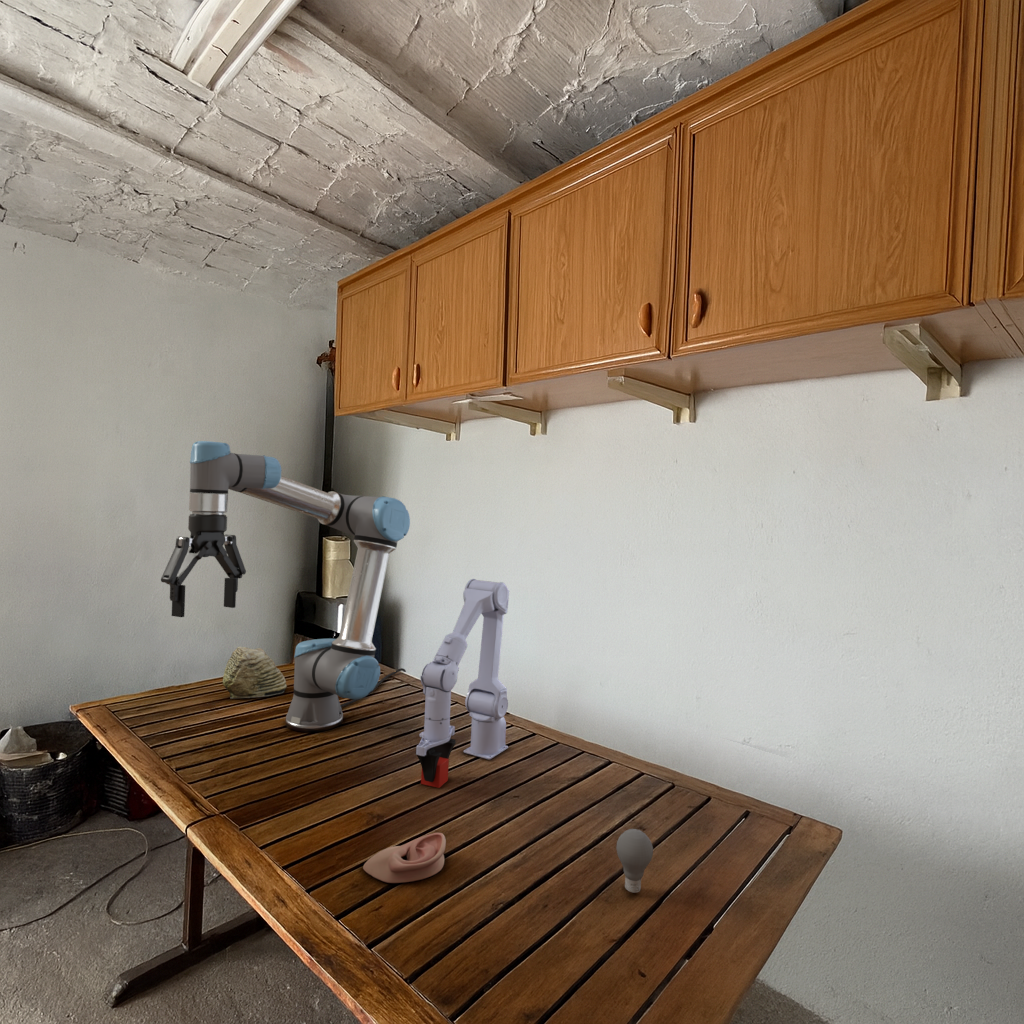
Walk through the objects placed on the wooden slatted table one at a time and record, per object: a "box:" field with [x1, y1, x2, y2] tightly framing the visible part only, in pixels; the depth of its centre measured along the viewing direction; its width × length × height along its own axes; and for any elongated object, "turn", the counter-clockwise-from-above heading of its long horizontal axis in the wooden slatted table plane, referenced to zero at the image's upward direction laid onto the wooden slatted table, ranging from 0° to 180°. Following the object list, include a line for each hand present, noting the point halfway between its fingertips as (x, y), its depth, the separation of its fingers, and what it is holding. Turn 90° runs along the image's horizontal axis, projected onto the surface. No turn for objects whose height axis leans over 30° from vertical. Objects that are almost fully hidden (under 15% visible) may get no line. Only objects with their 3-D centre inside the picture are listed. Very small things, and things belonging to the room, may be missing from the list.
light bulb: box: [615, 828, 654, 894], centre depth 106 cm, size 6×6×10 cm
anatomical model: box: [362, 832, 447, 884], centre depth 110 cm, size 13×4×12 cm
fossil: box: [222, 646, 288, 699], centre depth 198 cm, size 9×18×15 cm, turn 132°
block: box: [420, 757, 450, 789], centre depth 143 cm, size 4×5×5 cm
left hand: (204, 611), depth 137 cm, fingers open, 13 cm apart
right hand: (434, 776), depth 143 cm, fingers open, 5 cm apart
